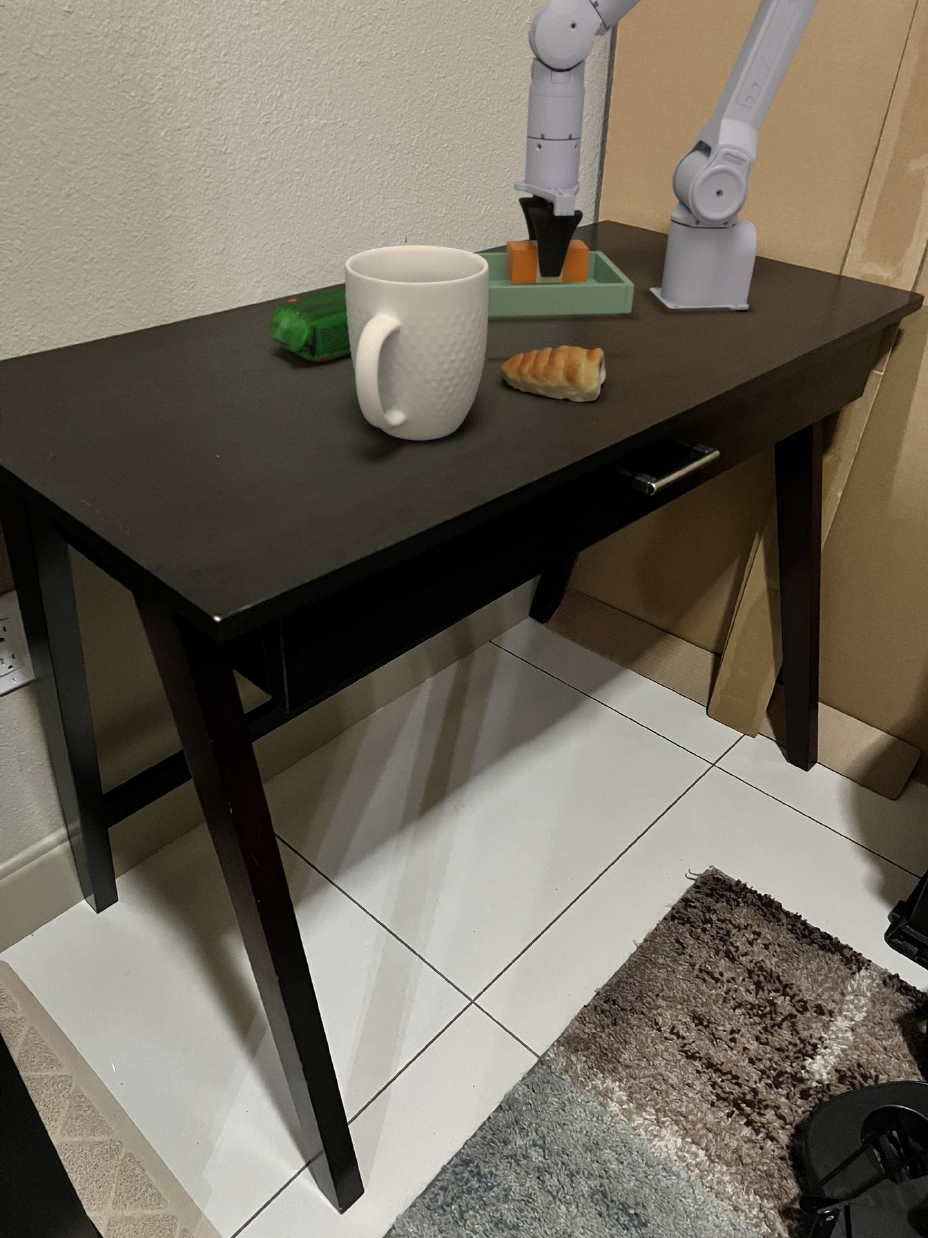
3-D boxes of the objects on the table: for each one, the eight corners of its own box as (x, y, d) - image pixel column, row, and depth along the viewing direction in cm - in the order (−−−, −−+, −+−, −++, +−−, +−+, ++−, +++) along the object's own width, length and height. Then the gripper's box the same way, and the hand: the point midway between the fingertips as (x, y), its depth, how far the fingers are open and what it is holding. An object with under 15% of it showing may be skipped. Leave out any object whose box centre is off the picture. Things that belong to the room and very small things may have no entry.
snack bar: (578, 272, 107) (580, 239, 105) (586, 281, 104) (589, 247, 102) (505, 273, 106) (507, 240, 104) (511, 283, 103) (513, 249, 101)
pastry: (494, 395, 83) (496, 353, 80) (507, 369, 88) (509, 329, 86) (599, 405, 81) (604, 362, 79) (606, 378, 87) (610, 338, 84)
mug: (436, 484, 68) (435, 305, 61) (305, 458, 71) (289, 285, 64) (503, 411, 80) (509, 253, 72) (388, 392, 83) (382, 238, 75)
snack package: (429, 340, 95) (429, 287, 92) (300, 373, 86) (295, 317, 83) (387, 323, 99) (386, 273, 96) (260, 354, 90) (254, 299, 88)
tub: (598, 281, 113) (601, 250, 111) (630, 318, 102) (634, 284, 100) (464, 284, 112) (464, 252, 109) (481, 321, 100) (482, 287, 98)
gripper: (505, 126, 102) (500, 254, 110) (529, 147, 90) (522, 289, 98) (567, 126, 103) (558, 253, 111) (599, 146, 91) (587, 287, 99)
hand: (546, 270), depth 105 cm, fingers closed on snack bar, 4 cm apart
